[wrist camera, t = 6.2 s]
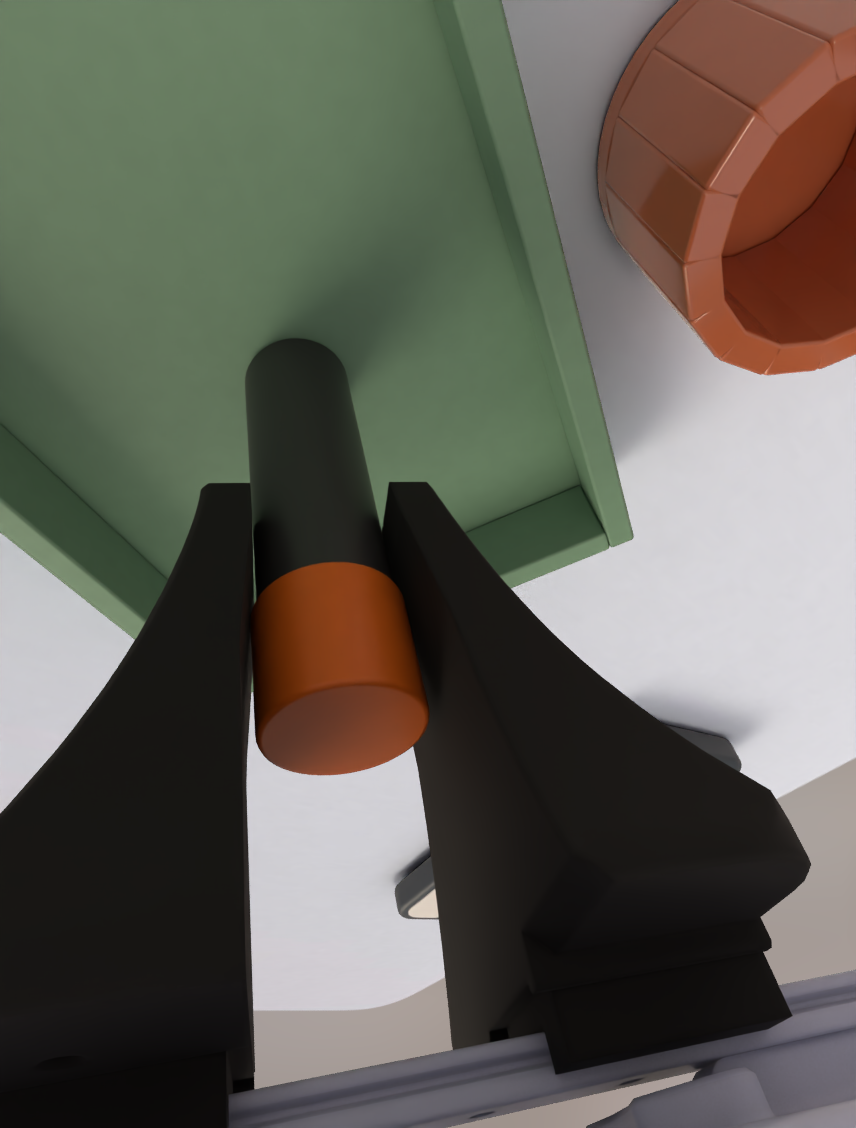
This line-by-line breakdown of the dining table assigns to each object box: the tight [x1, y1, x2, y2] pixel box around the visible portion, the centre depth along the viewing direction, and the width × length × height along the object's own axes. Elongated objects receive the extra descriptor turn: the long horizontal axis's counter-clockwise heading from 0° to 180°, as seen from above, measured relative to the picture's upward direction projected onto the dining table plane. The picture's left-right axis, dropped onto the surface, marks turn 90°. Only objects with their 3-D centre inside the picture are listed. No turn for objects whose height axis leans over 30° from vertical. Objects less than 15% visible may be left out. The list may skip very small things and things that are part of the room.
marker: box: [245, 338, 430, 775], centre depth 12 cm, size 2×2×8 cm
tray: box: [0, 0, 633, 692], centre depth 12 cm, size 11×20×2 cm, turn 22°
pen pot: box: [598, 0, 856, 375], centre depth 12 cm, size 5×5×4 cm
